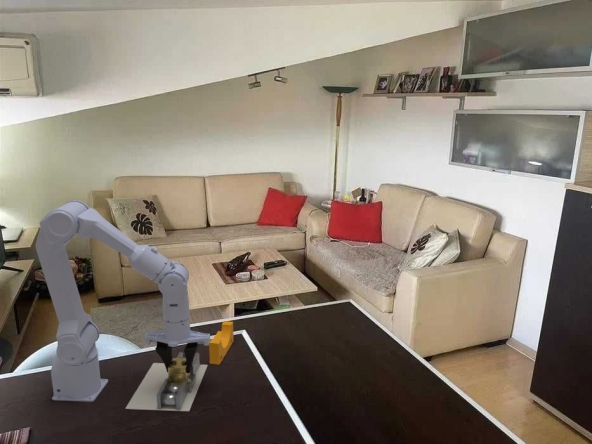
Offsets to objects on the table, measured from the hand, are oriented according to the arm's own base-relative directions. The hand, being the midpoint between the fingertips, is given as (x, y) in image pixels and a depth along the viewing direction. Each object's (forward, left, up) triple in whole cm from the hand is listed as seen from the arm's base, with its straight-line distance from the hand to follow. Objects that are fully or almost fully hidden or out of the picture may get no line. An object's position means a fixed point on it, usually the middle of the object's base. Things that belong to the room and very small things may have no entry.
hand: (179, 370), depth 106 cm
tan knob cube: (0, 0, -2) cm, 2 cm away
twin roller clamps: (0, 0, -4) cm, 4 cm away
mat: (-3, 0, -4) cm, 5 cm away
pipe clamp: (+6, +16, -5) cm, 17 cm away
